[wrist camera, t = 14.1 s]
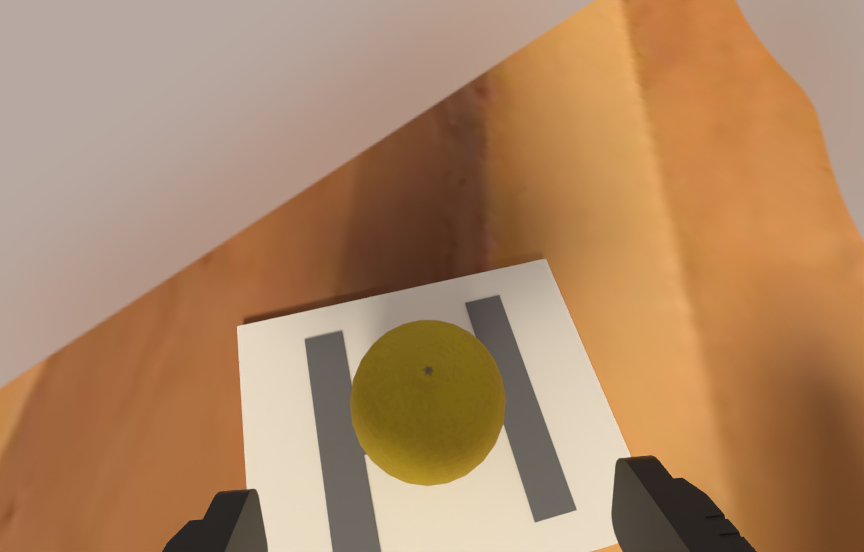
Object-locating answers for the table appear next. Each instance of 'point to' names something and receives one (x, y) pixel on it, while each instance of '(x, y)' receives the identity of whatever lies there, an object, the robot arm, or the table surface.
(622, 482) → the robot arm
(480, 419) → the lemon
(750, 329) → the table surface
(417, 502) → the letter board
